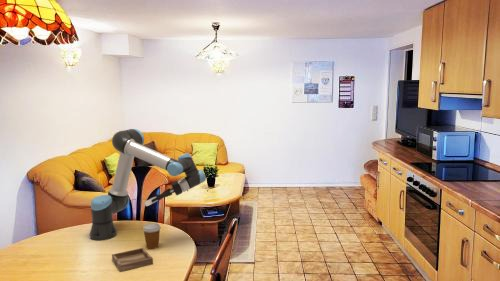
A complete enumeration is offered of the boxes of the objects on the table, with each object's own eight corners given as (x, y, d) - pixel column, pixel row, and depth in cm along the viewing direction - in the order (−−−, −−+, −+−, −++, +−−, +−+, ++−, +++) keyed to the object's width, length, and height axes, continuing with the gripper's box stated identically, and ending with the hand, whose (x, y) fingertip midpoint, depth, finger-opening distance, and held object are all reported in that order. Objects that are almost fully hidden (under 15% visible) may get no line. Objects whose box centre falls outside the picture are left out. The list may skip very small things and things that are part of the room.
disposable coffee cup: (156, 250, 218) (156, 229, 216) (140, 249, 220) (139, 228, 218) (164, 244, 227) (163, 223, 226) (148, 243, 229) (147, 222, 227)
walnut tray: (112, 260, 207) (112, 254, 206) (143, 253, 215) (142, 247, 215) (120, 272, 193) (120, 266, 193) (153, 264, 202) (152, 258, 201)
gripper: (185, 191, 219) (149, 210, 212) (180, 193, 243) (147, 210, 236) (179, 179, 219) (143, 197, 212) (174, 182, 243) (141, 198, 236)
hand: (145, 204), depth 224 cm, fingers open, 13 cm apart
